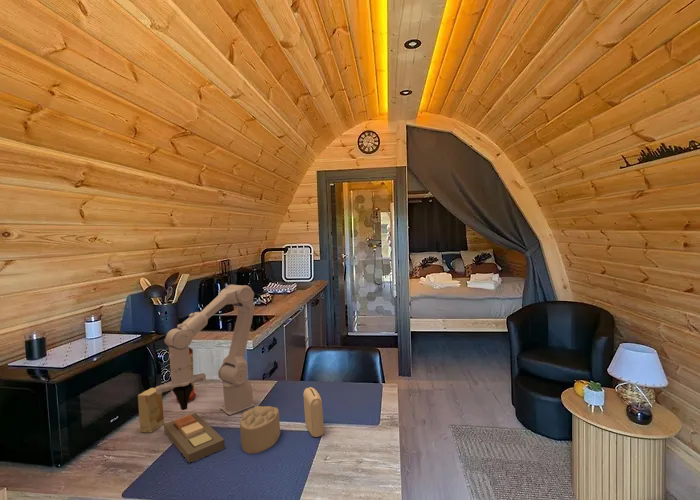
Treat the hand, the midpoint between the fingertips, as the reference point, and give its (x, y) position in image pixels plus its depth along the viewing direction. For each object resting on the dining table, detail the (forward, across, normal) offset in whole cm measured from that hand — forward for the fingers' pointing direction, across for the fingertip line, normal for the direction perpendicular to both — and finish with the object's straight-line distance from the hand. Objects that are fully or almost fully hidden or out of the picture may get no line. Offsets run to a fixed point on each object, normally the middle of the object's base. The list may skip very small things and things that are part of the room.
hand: (183, 408), depth 118 cm
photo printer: (+8, +29, -30) cm, 42 cm away
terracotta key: (+6, 0, 0) cm, 6 cm away
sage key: (+7, 0, -14) cm, 15 cm away
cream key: (+6, 0, -7) cm, 9 cm away
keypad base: (+7, 0, -7) cm, 10 cm away
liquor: (+8, +8, +25) cm, 27 cm away
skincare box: (+8, -7, +11) cm, 15 cm away
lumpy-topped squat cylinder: (+8, +14, -23) cm, 28 cm away
